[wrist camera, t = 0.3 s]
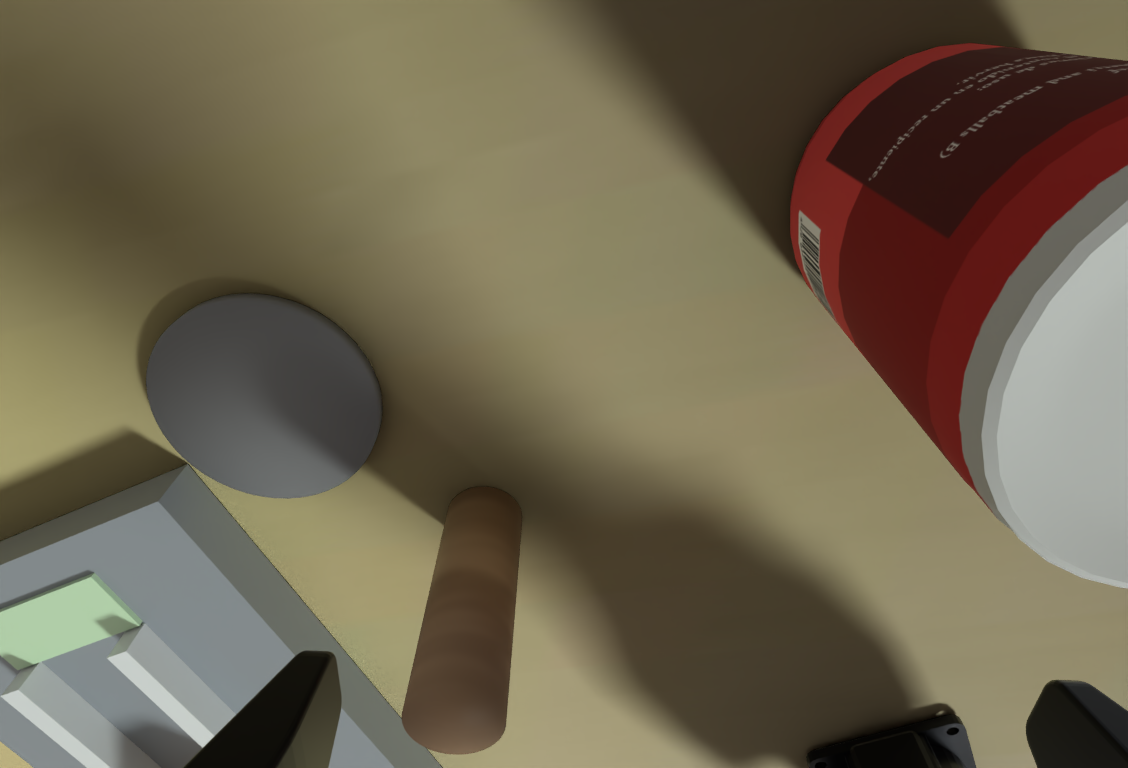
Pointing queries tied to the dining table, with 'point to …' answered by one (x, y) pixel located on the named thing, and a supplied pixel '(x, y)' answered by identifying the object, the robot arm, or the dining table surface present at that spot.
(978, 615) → the dining table surface
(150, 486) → the panel
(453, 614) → the dowel
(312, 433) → the pad
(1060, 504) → the canned food
